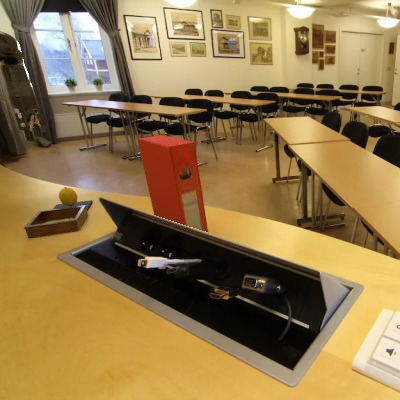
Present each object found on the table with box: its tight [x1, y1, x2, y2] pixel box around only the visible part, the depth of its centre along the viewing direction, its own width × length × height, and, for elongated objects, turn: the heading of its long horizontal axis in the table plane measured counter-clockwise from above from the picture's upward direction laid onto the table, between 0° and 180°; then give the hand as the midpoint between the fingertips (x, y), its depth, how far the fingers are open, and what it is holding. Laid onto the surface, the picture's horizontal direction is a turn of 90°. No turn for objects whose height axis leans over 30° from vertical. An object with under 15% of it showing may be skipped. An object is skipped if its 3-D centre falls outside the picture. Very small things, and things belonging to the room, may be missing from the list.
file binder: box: [137, 134, 209, 233], centre depth 98 cm, size 8×17×32 cm, turn 53°
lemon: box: [58, 186, 78, 207], centre depth 123 cm, size 6×6×8 cm
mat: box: [52, 199, 93, 212], centre depth 125 cm, size 12×10×1 cm
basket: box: [23, 205, 89, 239], centre depth 111 cm, size 14×14×4 cm
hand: (35, 139), depth 122 cm, fingers open, 8 cm apart
